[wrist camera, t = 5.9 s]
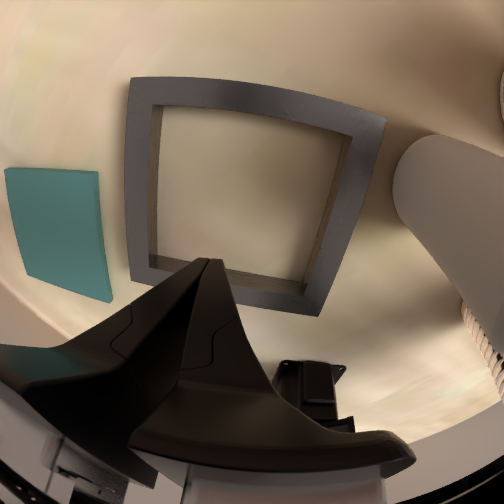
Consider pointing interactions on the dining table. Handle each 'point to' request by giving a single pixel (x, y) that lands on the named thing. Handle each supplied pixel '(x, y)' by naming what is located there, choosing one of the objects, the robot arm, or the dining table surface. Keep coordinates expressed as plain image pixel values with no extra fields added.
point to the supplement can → (502, 96)
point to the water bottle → (485, 349)
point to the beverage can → (458, 220)
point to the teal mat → (60, 228)
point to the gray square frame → (263, 103)
